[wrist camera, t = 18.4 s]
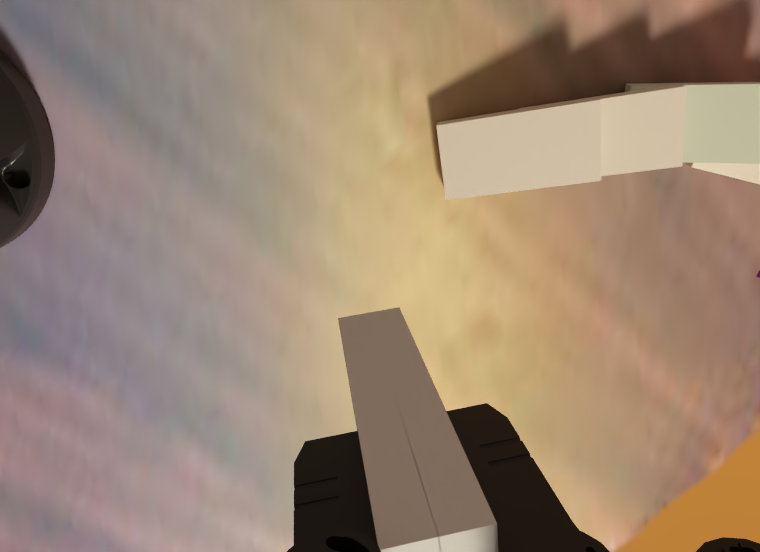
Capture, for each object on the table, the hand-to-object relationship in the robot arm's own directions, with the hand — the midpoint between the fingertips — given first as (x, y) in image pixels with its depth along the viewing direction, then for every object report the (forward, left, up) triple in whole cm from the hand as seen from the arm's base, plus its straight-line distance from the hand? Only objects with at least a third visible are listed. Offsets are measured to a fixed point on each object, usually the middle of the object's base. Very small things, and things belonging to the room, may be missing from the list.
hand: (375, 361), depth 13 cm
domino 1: (+2, +8, -23) cm, 25 cm away
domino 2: (+4, +13, -23) cm, 27 cm away
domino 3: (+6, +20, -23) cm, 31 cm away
